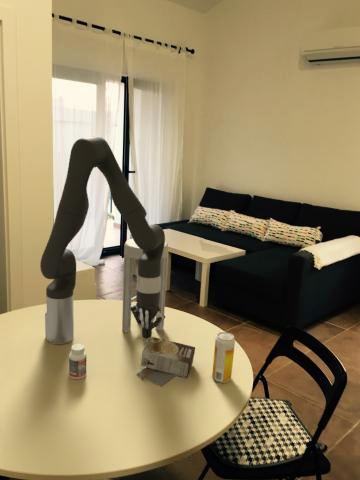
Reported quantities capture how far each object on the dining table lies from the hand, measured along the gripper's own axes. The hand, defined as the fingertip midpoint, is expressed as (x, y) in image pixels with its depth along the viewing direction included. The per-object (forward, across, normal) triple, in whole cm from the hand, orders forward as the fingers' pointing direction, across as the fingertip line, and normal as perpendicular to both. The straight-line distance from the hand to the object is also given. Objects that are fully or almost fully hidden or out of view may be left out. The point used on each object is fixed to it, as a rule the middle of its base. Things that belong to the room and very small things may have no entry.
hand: (146, 337), depth 146 cm
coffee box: (+5, -1, 0) cm, 5 cm away
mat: (+10, +6, 0) cm, 12 cm away
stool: (+10, -17, +19) cm, 27 cm away
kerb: (+10, +4, 0) cm, 11 cm away
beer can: (+10, +23, +10) cm, 27 cm away
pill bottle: (+10, -13, -18) cm, 24 cm away
